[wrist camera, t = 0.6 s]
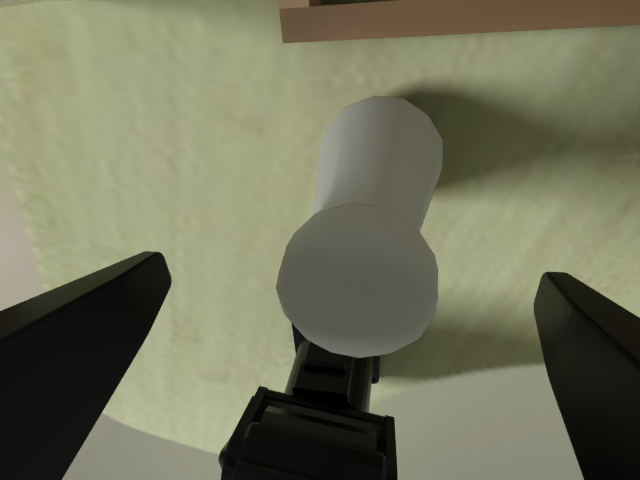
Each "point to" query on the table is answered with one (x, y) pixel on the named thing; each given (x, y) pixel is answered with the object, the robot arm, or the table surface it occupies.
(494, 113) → the table surface
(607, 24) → the socket block
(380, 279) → the salt shaker
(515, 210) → the table surface
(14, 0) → the drinking glass
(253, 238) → the table surface
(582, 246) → the table surface
